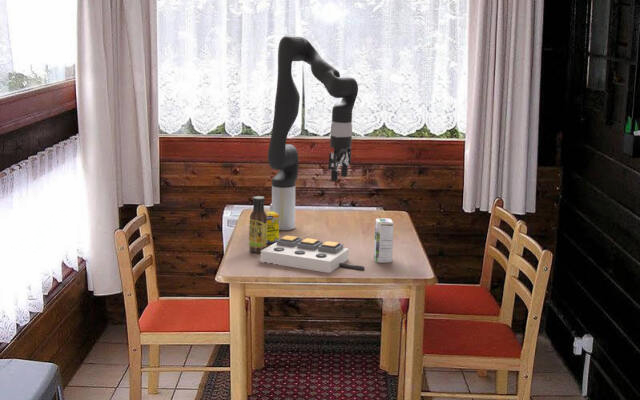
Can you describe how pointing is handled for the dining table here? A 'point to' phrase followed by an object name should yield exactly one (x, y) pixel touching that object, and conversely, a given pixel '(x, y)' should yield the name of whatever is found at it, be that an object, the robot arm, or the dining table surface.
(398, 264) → the dining table surface
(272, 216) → the supplement box
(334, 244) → the switch
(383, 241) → the syrup box
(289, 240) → the switch
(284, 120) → the robot arm
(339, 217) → the dining table surface
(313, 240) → the switch
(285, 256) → the switch panel
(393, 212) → the dining table surface
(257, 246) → the sauce bottle
